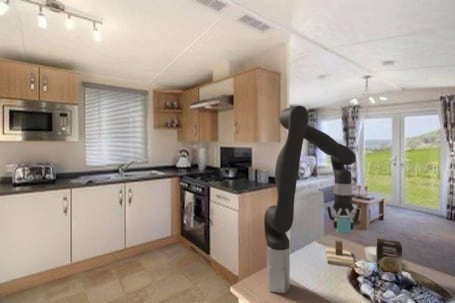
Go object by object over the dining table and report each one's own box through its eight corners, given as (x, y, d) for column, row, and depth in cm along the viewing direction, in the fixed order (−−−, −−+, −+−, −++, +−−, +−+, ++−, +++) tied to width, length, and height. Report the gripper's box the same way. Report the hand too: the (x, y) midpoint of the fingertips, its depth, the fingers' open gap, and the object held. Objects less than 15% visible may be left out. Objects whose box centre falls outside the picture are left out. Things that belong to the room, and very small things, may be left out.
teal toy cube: (350, 234, 106) (350, 220, 106) (337, 233, 108) (337, 219, 108) (348, 230, 111) (348, 216, 111) (336, 229, 113) (335, 215, 113)
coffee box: (376, 279, 103) (376, 242, 103) (375, 272, 109) (375, 237, 108) (402, 284, 99) (402, 246, 98) (399, 277, 105) (399, 240, 104)
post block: (354, 267, 113) (354, 249, 113) (327, 263, 117) (327, 246, 117) (349, 252, 128) (349, 237, 128) (325, 249, 132) (325, 234, 132)
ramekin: (359, 258, 122) (359, 248, 122) (373, 254, 126) (374, 244, 126) (381, 269, 112) (382, 258, 111) (396, 263, 116) (396, 253, 116)
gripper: (326, 193, 108) (326, 230, 108) (362, 195, 103) (362, 234, 104) (325, 190, 115) (325, 225, 115) (358, 191, 110) (359, 228, 111)
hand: (343, 229), depth 109 cm, fingers closed on teal toy cube, 5 cm apart
